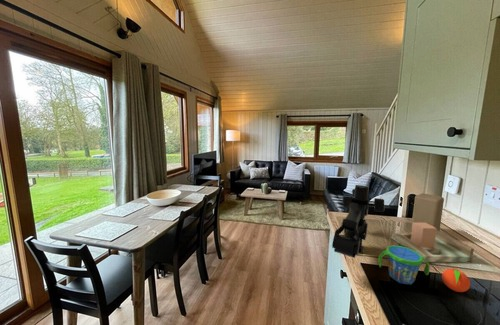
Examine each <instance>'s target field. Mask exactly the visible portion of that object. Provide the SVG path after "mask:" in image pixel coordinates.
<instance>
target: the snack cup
mask: <svg viewBox="0 0 500 325" xmlns="http://www.w3.org/2000/svg"><path fill="white" fill-rule="evenodd" d="M384 256H387V260H388V261H387V263H388V264H387V265H388V275H389V276H390V278H392V279H393V281H396V282H398V284H402V285H403V284H404V285H410V286H412V284H413V283H414V282H415V281H416V277H417V275H418V272H419V269H420V267H421V265H422V264H423V260H424V261H425V262H424V263H425V266H424V269H423V272H424V274H425V276H429V274H430V268H431V267H430V264H429V262H427V260H426V259H425V258H424V257H422V256H421V255H420V254H419V253H417V252H416V251H414V250H411V249H409V248H406V247H403V246H402V245H388V246H387V248H386V249H384V250H383V251H381V252H380V254H379V255H378V258H377V264H378V266H379V268H382V260H383V257H384Z"/></svg>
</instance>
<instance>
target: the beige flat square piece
mask: <svg viewBox="0 0 500 325" xmlns="http://www.w3.org/2000/svg"><path fill="white" fill-rule="evenodd" d="M391 239H392V240H394V241H395V242H396V243H398V244H399V246H402V247H406V248H409V249H411V250H414V251H416V252H417V253H419V254H420V255H421V256H422V257H424V258H425V259H426V260H427V262H428V263H468V262H467V261H473V256H474V252H475V249H474V248H473V247H471V246H469V245H467V244H465V243H464V242H462V241H459V240H458V239H457V238H456V239H455V238H454V237H452V236H450V235H449V234H447V233H444V232H442V231H441V230H440V231H439V230H436V237H435V244H434V247H419V246H418V245H416V244H415V243H413V242H412V241H410V240H411V233H391ZM423 262H424V263H426V262H425V261H424V260H423ZM423 262H422V263H423Z"/></svg>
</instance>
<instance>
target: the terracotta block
mask: <svg viewBox="0 0 500 325" xmlns="http://www.w3.org/2000/svg"><path fill="white" fill-rule="evenodd" d="M411 226H412V230H411V232H410V234H411V240H410V241H412V242H413V243H415V244H416V245H418V246H419V247H434V244H435V237H436V230H437V228H435V227H433V226H431V225H429V224H427V223H413V225H412V224H411Z"/></svg>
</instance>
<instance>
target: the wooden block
mask: <svg viewBox="0 0 500 325" xmlns="http://www.w3.org/2000/svg"><path fill="white" fill-rule="evenodd" d="M444 203H445V198H444V197H443V196H438V195H432V194H428V193H424V192H423V193H420V194H417V195H415V197H414V204H413V209H412V210H413V212H412V220H411V227H410V228H411V231H412V225H413V223H427V224H429V225H431V226H433V227H435V228H437V230H439V231H440V232H441V230H440V229H441V223H442V217H443V209H444Z"/></svg>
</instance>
